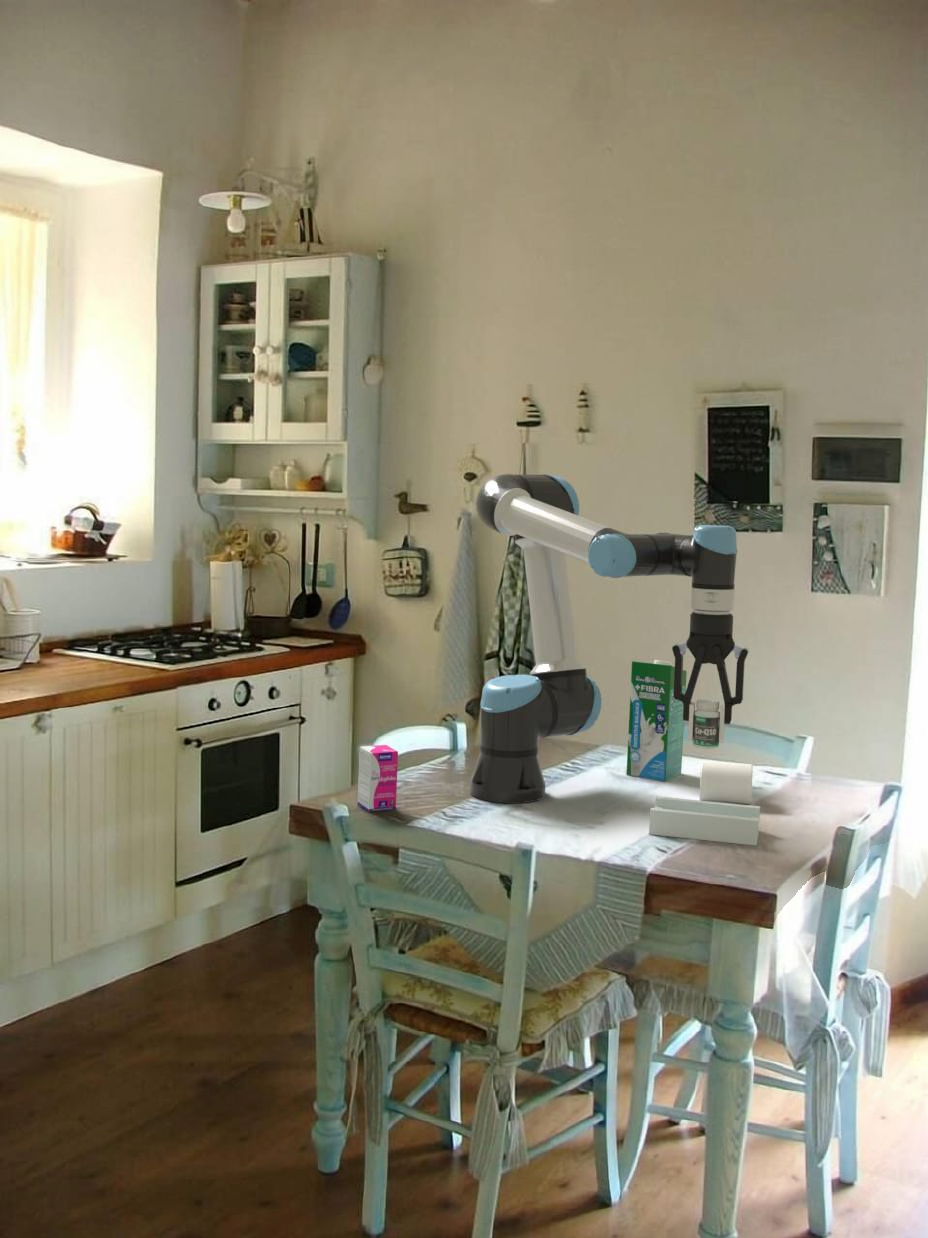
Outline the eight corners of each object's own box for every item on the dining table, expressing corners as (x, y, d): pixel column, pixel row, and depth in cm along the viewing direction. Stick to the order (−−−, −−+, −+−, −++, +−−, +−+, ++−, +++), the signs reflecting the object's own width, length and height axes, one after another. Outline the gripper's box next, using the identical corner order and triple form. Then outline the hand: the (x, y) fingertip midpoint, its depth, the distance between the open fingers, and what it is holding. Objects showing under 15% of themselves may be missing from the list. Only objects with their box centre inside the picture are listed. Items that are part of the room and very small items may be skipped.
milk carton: (681, 773, 269) (687, 660, 266) (664, 781, 262) (671, 665, 259) (643, 767, 274) (649, 655, 271) (626, 774, 267) (631, 660, 264)
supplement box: (368, 812, 231) (370, 752, 230) (356, 804, 237) (358, 746, 235) (397, 809, 234) (398, 750, 233) (384, 801, 239) (386, 743, 238)
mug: (750, 809, 243) (753, 769, 242) (699, 804, 245) (701, 765, 244) (749, 793, 254) (751, 756, 253) (700, 789, 256) (702, 752, 255)
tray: (648, 834, 223) (650, 809, 223) (655, 819, 233) (656, 796, 232) (756, 845, 218) (758, 821, 218) (758, 830, 228) (760, 806, 227)
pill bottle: (690, 747, 222) (691, 701, 221) (695, 742, 226) (697, 697, 225) (716, 750, 220) (718, 703, 219) (721, 745, 225) (723, 699, 224)
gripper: (659, 611, 220) (654, 740, 222) (762, 616, 215) (755, 748, 217) (664, 607, 227) (659, 732, 229) (764, 612, 222) (757, 740, 224)
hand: (706, 739), depth 223 cm, fingers closed on pill bottle, 5 cm apart
